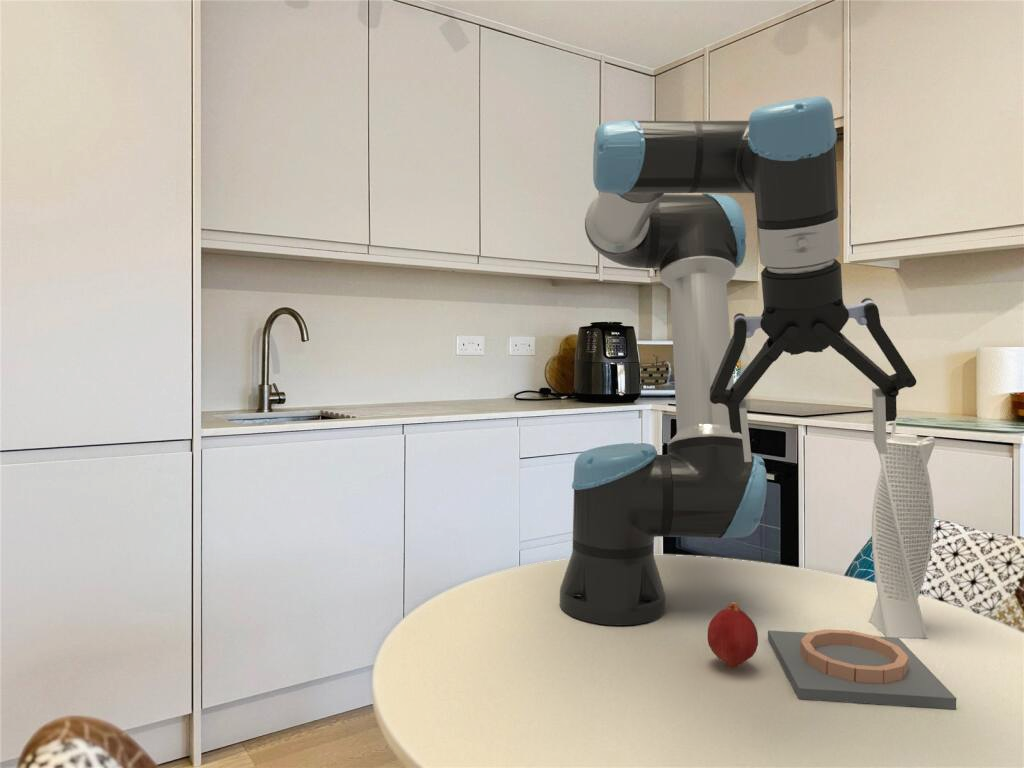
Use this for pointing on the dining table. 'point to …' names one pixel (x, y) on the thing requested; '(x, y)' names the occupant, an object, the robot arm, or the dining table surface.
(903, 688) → the dock
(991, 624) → the dining table surface
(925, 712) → the dining table surface
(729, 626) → the red rounded fruit
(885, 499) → the skyscraper
